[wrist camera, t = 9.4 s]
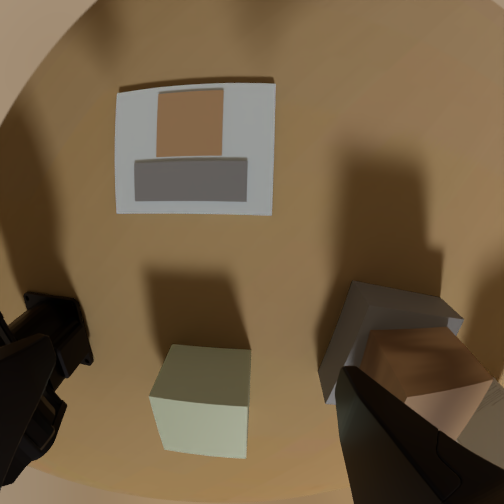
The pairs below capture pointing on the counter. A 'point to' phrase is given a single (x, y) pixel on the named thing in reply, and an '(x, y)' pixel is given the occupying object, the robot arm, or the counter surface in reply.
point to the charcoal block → (378, 325)
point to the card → (195, 149)
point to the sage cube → (203, 400)
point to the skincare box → (487, 427)
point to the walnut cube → (428, 374)
